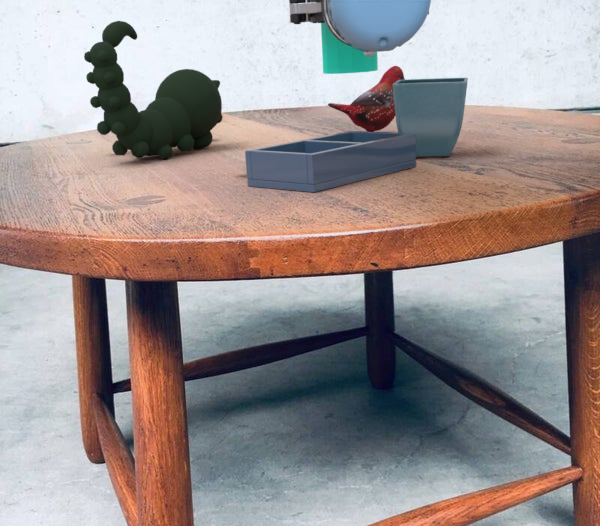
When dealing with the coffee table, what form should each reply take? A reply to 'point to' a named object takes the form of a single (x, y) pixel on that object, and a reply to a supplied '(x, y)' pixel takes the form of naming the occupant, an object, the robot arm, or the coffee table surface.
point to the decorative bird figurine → (374, 103)
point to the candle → (344, 56)
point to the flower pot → (431, 112)
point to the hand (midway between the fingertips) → (347, 8)
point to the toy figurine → (152, 104)
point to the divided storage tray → (330, 160)
